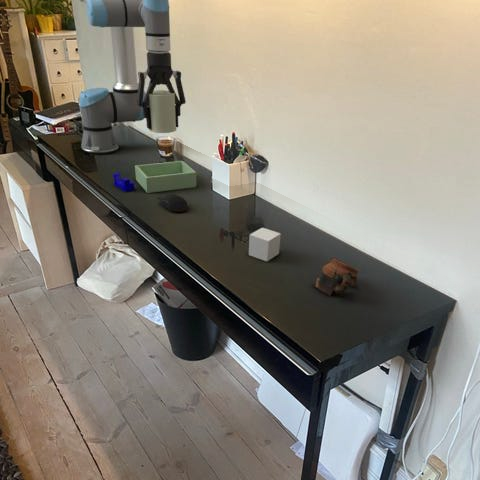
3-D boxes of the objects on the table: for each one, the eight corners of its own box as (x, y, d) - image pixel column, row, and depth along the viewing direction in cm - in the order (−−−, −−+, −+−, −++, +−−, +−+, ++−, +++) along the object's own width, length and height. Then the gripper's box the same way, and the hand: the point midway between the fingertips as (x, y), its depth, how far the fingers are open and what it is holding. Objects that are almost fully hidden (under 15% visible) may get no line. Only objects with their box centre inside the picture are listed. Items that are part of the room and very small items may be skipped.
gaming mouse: (168, 196, 165) (168, 184, 163) (191, 210, 156) (191, 198, 153) (152, 200, 162) (151, 188, 160) (174, 214, 152) (174, 202, 150)
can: (179, 127, 169) (177, 89, 162) (173, 133, 161) (171, 94, 154) (152, 125, 169) (150, 88, 163) (146, 132, 162) (143, 93, 155)
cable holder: (134, 189, 169) (133, 178, 167) (125, 191, 167) (124, 180, 165) (123, 183, 174) (122, 172, 172) (114, 185, 172) (113, 174, 170)
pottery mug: (307, 282, 122) (322, 252, 120) (337, 295, 125) (353, 266, 123) (325, 295, 111) (342, 263, 109) (358, 310, 114) (375, 278, 112)
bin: (136, 180, 177) (134, 165, 174) (183, 174, 184) (182, 160, 181) (147, 193, 167) (146, 177, 164) (196, 186, 174) (196, 172, 171)
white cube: (260, 247, 136) (262, 227, 133) (279, 253, 133) (280, 233, 130) (248, 254, 132) (249, 234, 128) (266, 261, 129) (268, 240, 126)
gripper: (127, 53, 145) (134, 132, 158) (195, 52, 153) (196, 127, 166) (121, 50, 151) (128, 126, 164) (186, 49, 159) (188, 122, 172)
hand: (162, 127), depth 165 cm, fingers closed on can, 9 cm apart
